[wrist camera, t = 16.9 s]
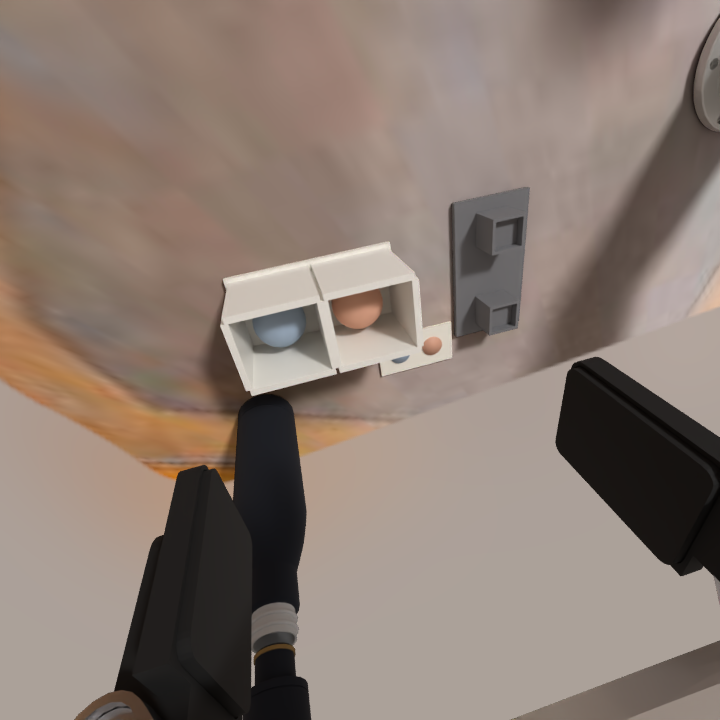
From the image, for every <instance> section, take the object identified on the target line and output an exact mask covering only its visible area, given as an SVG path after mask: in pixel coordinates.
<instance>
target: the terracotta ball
mask: <svg viewBox="0 0 720 720" xmlns="http://www.w3.org/2000/svg"><path fill="white" fill-rule="evenodd" d="M382 307H383V299H382V295H381V292H380V290H379V289H374V290H370V291H366V292H361V293H357V294H353V295H349V296H345V297H340V298H336V299H332V310H333V313H334V315H335V317H336V318H337V320H338V321H339V322H340V323H342V324H343V325H345V326H346V327H349V328H353V329H362V328H365V327H368V326H370V325H371V324H373V323H374V322H375V321H376V320H377V319H378V317H379V316H380V314H381V311H382Z"/></svg>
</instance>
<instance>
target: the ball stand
mask: <svg viewBox="0 0 720 720" xmlns="http://www.w3.org/2000/svg"><path fill="white" fill-rule="evenodd" d="M529 192H530V188H529V187H524V188H519V189H515V190H510V191H506V192H501V193H496V194H492V195H487V196H483V197H478V198H473V199H469V200H464V201H460V202H455V203H452V239H453V287H454V334H455V336H456V337H459V336H463V335H467V334H471V333H475V332H478V331H482V330H483V331H485V332H486V333H487V334H488V335H489V336H490V335H493V334H497V333H501V332H505V331H509V330H513V329H516V328H518V321H519V313H520V301H521V289H522V277H523V264H524V252H525V240H526V228H527V216H528V204H529Z"/></svg>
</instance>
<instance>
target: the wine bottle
mask: <svg viewBox="0 0 720 720" xmlns="http://www.w3.org/2000/svg"><path fill="white" fill-rule="evenodd" d="M233 494H234V495H233V502H234V504H235V506H236V508H237V510H238V512H239V514H240V515H241V517H242V519H243V521H244V523H245V525H246V527H247V529H248V531H249V533H250V536H251V540H252V637H251V650H252V651H253V652H254V653H256V655H255V656H254V665H255V686H253V687H252V688H251V705H250V710H249V712H248V713H246V714H244V715H243V720H311V713H310V704H309V693H308V683H307V681H306V680H305V679H303V678H301V677H297V676H296V671H295V648H294V647H293V645H294V644H295V642H296V640H297V634H298V630H299V627H298V625H297V624H296V623H297V619H298V617H297V613H298V611H299V606H300V602H299V591H298V582H297V581H298V580H297V569H298V565H299V561H300V557H301V553H302V548H303V544H304V536H305V526H306V504H305V496H304V489H303V481H302V473H301V466H300V458H299V450H298V443H297V435H296V427H295V420H294V413H293V409H292V406H291V405H290V404H289V403H288V402H287V401H286V400H285V399H283V398H281V397H279V396H275V395H260V396H256V397H253V398H252V399H250V400H248V401H247V402H246V403H245V404H244V405H243V406H242V407H241V409H240V411H239V414H238V429H237V445H236V461H235V477H234V493H233Z"/></svg>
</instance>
